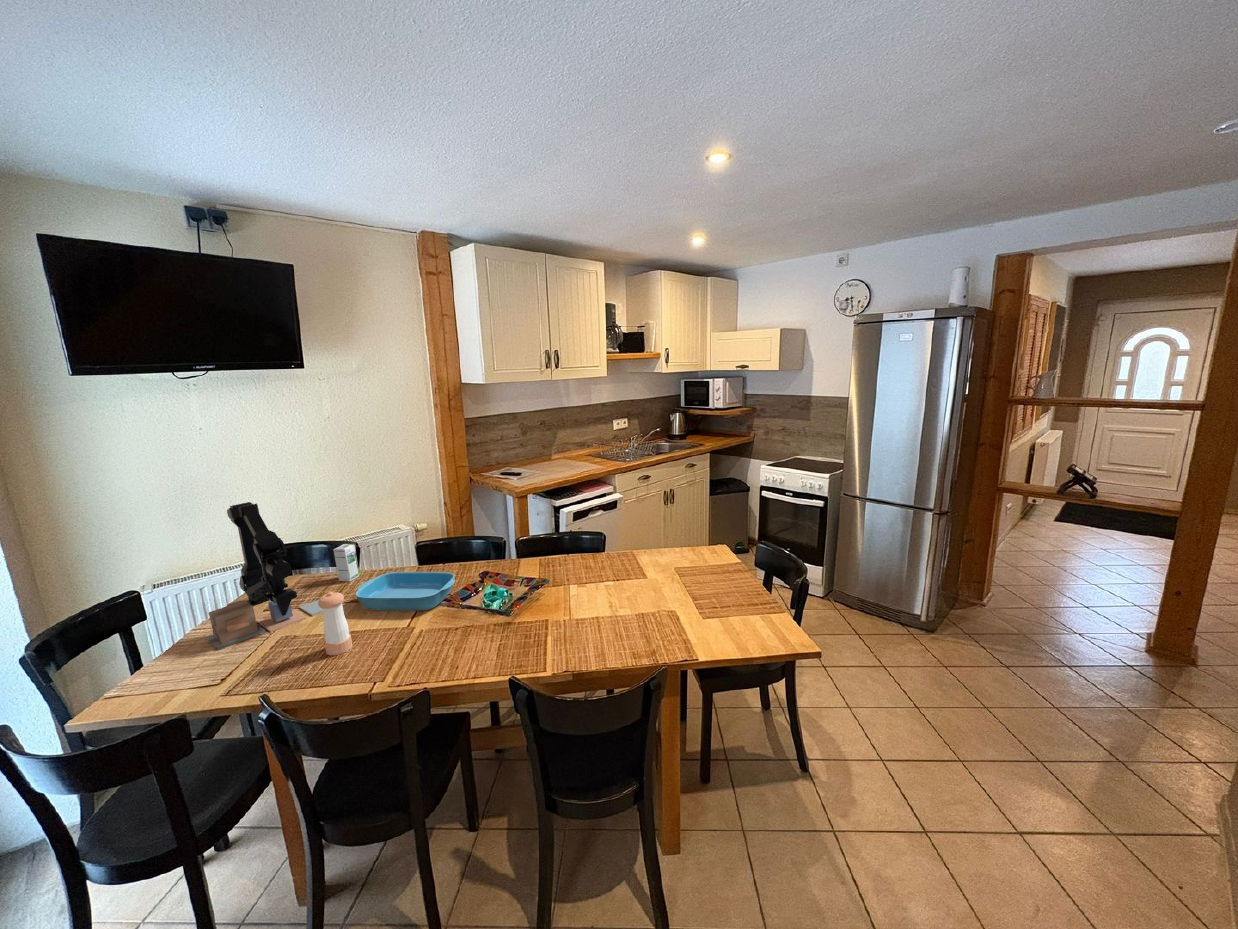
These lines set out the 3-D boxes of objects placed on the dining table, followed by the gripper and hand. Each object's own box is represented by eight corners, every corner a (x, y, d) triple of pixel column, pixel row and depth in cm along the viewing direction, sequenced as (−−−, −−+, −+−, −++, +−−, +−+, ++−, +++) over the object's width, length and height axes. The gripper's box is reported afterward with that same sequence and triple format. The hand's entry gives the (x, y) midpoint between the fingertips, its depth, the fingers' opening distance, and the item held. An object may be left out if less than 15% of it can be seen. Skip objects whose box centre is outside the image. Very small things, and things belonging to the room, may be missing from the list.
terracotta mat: (259, 623, 174) (258, 622, 174) (293, 610, 183) (293, 609, 183) (270, 632, 168) (270, 630, 168) (306, 618, 176) (305, 617, 176)
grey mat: (299, 608, 184) (299, 606, 184) (330, 596, 193) (330, 595, 193) (312, 616, 178) (311, 614, 178) (343, 603, 186) (343, 602, 186)
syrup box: (350, 581, 206) (345, 549, 203) (338, 581, 207) (333, 548, 204) (360, 576, 212) (355, 544, 209) (348, 575, 213) (343, 543, 210)
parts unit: (207, 640, 164) (201, 613, 163) (253, 623, 175) (248, 597, 173) (218, 650, 158) (211, 622, 156) (265, 632, 168) (259, 605, 166)
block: (271, 618, 175) (268, 602, 173) (287, 612, 178) (284, 597, 177) (276, 622, 172) (273, 606, 170) (292, 616, 175) (289, 600, 174)
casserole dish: (344, 614, 179) (341, 596, 177) (381, 587, 200) (378, 570, 199) (440, 616, 174) (438, 597, 173) (467, 588, 196) (465, 571, 194)
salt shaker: (334, 658, 151) (323, 600, 147) (321, 651, 154) (311, 595, 151) (357, 646, 157) (348, 590, 153) (344, 640, 160) (335, 585, 157)
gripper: (236, 574, 171) (245, 615, 174) (255, 587, 160) (264, 631, 163) (273, 563, 179) (280, 603, 183) (293, 574, 168) (301, 616, 171)
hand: (281, 613), depth 175 cm, fingers closed on block, 5 cm apart
